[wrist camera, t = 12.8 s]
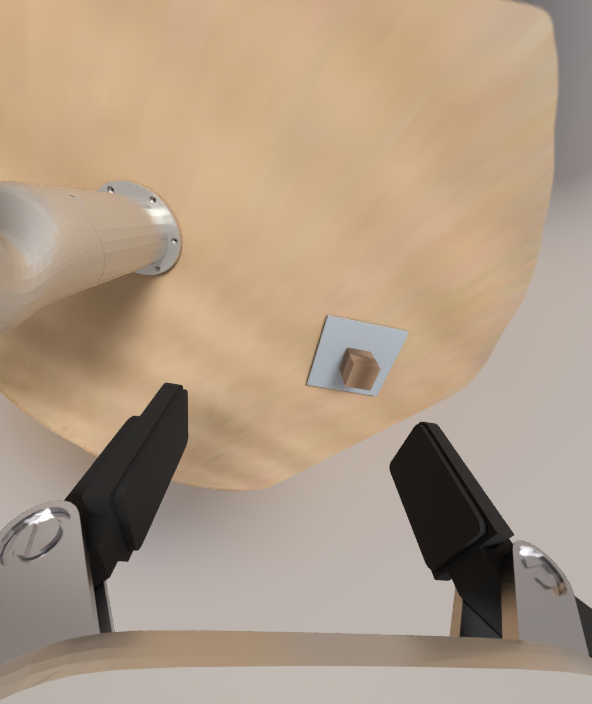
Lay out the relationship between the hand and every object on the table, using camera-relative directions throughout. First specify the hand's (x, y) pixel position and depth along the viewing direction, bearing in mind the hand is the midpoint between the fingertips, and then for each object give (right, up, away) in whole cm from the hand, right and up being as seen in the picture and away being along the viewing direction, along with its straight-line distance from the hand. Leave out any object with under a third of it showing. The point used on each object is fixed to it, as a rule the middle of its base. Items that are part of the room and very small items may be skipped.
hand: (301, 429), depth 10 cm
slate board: (+12, +2, +39) cm, 41 cm away
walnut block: (+12, +2, +38) cm, 40 cm away
